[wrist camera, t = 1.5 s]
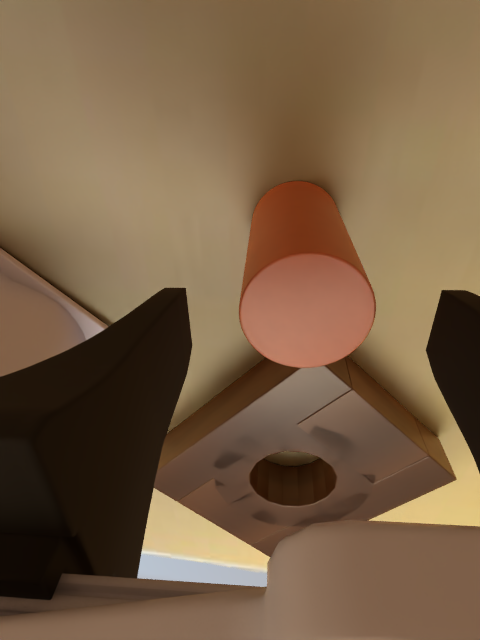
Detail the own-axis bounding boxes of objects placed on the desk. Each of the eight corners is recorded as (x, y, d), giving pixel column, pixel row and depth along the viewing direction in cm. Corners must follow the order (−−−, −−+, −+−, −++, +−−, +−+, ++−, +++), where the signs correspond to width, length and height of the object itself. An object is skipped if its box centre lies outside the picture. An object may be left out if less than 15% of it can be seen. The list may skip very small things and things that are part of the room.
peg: (234, 225, 19) (211, 314, 12) (297, 160, 17) (312, 222, 10) (292, 280, 20) (301, 388, 13) (357, 224, 18) (405, 317, 12)
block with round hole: (154, 443, 27) (142, 481, 25) (310, 322, 21) (315, 356, 19) (277, 521, 31) (277, 562, 29) (439, 438, 25) (457, 479, 23)
